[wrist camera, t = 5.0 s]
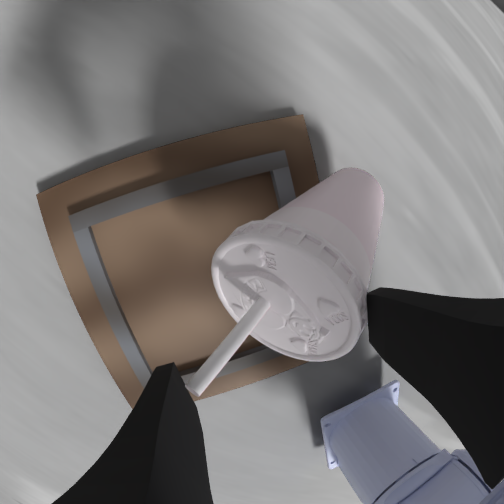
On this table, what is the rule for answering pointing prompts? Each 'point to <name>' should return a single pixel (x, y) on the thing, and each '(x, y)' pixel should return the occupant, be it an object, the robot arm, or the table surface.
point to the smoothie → (300, 274)
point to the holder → (173, 248)
